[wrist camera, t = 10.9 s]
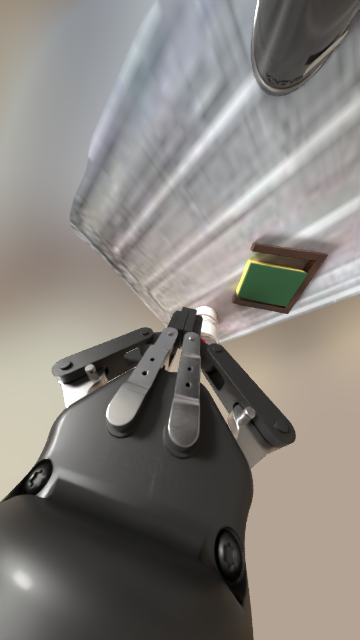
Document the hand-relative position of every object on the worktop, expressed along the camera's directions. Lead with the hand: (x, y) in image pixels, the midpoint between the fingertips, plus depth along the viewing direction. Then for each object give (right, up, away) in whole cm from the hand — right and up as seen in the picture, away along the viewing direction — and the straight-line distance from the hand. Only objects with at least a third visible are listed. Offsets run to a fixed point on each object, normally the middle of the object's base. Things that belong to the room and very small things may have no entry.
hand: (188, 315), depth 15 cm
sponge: (+18, +8, +16) cm, 25 cm away
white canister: (+6, 0, +25) cm, 25 cm away
